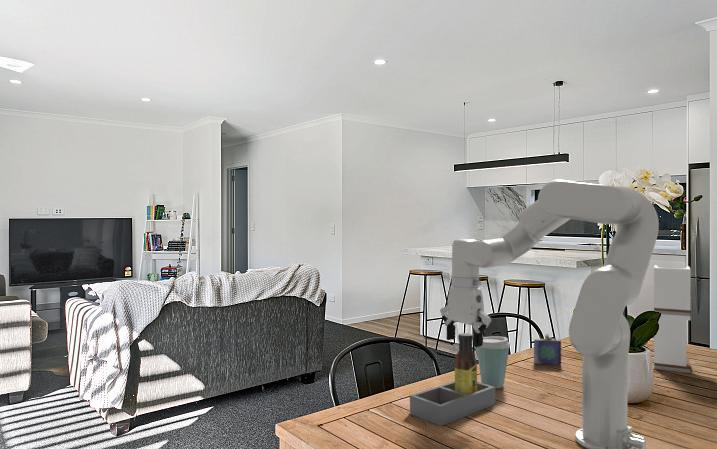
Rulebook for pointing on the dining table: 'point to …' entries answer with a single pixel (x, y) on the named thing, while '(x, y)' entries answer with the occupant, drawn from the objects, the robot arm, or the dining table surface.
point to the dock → (450, 403)
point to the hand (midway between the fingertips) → (464, 342)
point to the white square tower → (672, 317)
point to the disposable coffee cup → (493, 360)
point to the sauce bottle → (465, 366)
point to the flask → (547, 351)
